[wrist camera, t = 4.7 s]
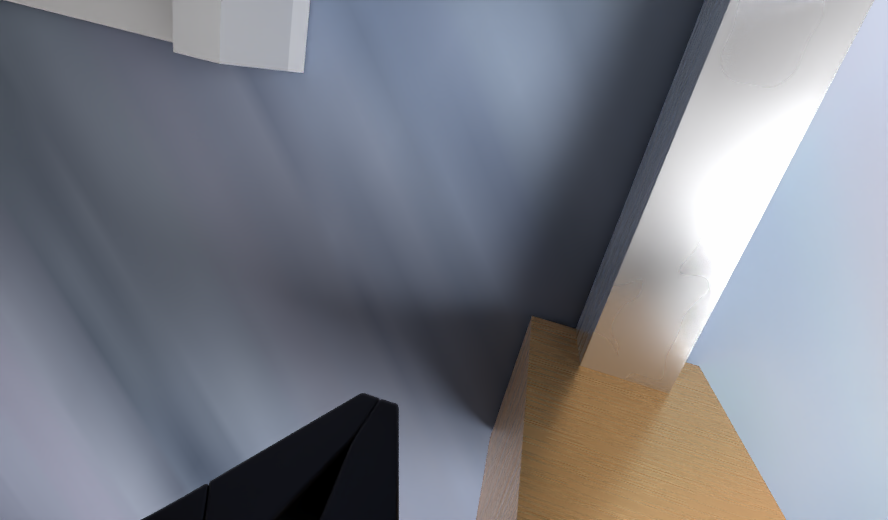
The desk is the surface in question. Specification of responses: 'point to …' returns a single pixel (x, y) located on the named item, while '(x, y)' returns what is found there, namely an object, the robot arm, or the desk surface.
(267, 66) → the gray square tray
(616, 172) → the desk surface
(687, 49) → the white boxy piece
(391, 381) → the desk surface
